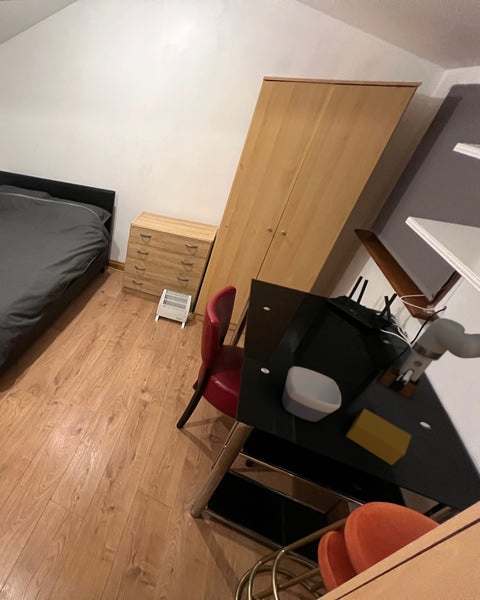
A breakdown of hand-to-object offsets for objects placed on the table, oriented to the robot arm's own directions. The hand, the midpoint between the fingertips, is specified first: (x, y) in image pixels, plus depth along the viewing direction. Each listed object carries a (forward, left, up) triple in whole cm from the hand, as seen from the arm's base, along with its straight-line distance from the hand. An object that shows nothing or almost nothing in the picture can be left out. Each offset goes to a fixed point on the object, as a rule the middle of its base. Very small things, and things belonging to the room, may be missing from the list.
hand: (396, 384), depth 123 cm
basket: (0, 0, -1) cm, 1 cm away
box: (-1, +38, -1) cm, 38 cm away
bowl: (+19, +43, -1) cm, 47 cm away
